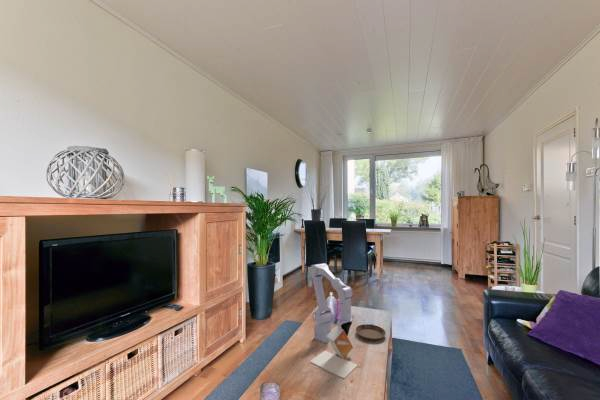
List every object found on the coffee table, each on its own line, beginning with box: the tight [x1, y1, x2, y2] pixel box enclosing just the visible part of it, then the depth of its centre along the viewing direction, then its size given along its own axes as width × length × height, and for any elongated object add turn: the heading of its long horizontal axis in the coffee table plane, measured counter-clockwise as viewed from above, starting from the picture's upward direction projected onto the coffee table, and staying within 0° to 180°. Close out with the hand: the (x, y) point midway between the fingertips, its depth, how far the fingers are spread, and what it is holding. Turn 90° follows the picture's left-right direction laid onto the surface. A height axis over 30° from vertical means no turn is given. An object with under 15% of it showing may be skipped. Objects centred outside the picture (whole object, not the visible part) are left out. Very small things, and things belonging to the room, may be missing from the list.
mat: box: [309, 350, 358, 380], centre depth 134 cm, size 20×13×1 cm, turn 49°
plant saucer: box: [355, 323, 387, 342], centre depth 163 cm, size 18×18×3 cm
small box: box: [326, 324, 354, 359], centre depth 140 cm, size 8×6×13 cm
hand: (345, 335), depth 143 cm, fingers closed
